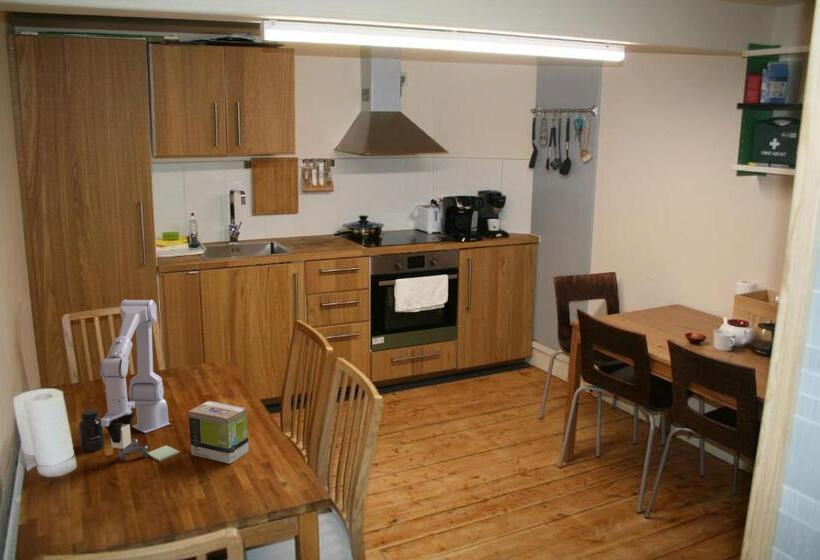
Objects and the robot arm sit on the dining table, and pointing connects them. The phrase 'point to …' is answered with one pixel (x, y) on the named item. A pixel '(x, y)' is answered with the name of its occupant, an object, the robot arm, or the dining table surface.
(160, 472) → the dining table surface
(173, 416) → the dining table surface
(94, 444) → the supplement bottle
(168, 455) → the pad
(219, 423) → the tea box
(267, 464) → the dining table surface
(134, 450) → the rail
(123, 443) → the block
